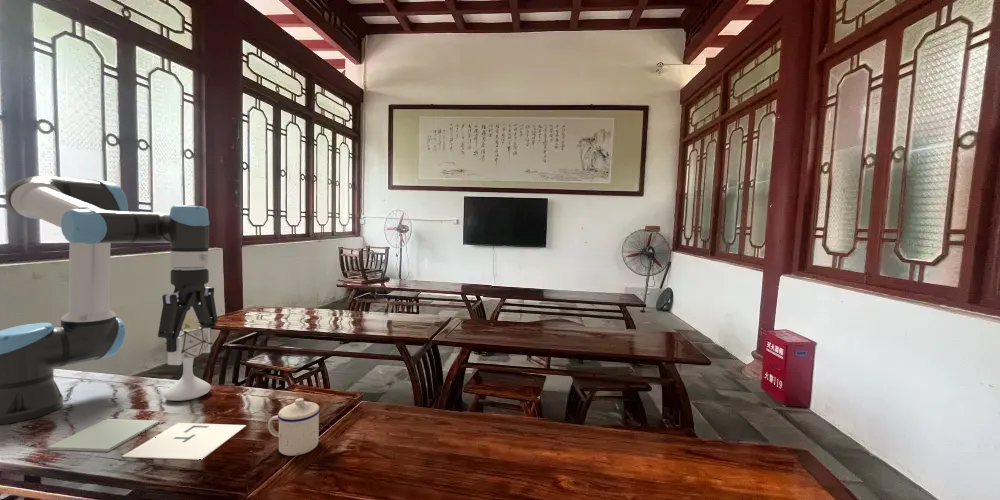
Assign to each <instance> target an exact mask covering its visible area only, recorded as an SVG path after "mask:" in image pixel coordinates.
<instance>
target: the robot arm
mask: <svg viewBox="0 0 1000 500" xmlns="http://www.w3.org/2000/svg"><path fill="white" fill-rule="evenodd" d="M4 196H5V201H6V204H7V206H8V207H9V208H10V209H11V210H12V211H14V212H15V213H17V214H19V215H20V216H23V217H26V218H28V219H32V220H43V221H45V222H47V223H49V224H52V225H54V226H56V227H59V228H60V229H61V233H62V235H63V237H64V238H65V240H66V241H68V242H69V247H68V248H69V252H68V253H69V255H68V257H69V258H68V262H69V263H68V265H69V266H68V312H67V313H66V314H64V315H63V316H62V317H61V318H60V325H57V326H54V325H53V324H52V323H51V322H36V323H28V324H21V325H16V326H13V327H9V328H5V329H2V330H0V425H8V424H13V423H18V422H23V421H28V420H32V419H36V418H39V417H42V416H46V415H48V414H51V413H53V412H55V411H57V410H60V408H62V407H63V406H64V395H63V394H62V393H61V391H60V389H59V387H58V384H57V383H56V381H55V379H54V370H55V368H56V369H57V368H62V367H66V366H69V365H70V366H71V365H75V364H80V363H81V364H82V363H85V362H89V361H90V362H91V361H97V360H101V359H104V358H107V357H111V356H114V355H115V354H117V353H119V351H120V350H121V349H122V347H123V345H124V343H125V338H126V328H125V327H124V326H125V324H124V322H123V320H122V319H121V318H119V317H117V313H115V312H114V311H113V310H111V309H110V296H111V295H110V292H111V291H110V289H111V288H110V286H111V284H110V283H111V244H117V243H118V244H133V243H134V244H137V243H139V244H140V243H141V244H142V243H143V244H149V243H150V244H151V243H152V244H153V243H157V244H158V243H161V244H163V243H166V244H170V253H169V254H170V255H169V256H170V257H169V258H170V259H169V261H170V264H169V266H170V268H173V269H171V270H170V284H171V285H172V286H174V290H173V293H169V294H165V293H164V294H163V295H162V296H161V297H162V311H161V313H160V314H161V316H160V319H159V320H160V321H159V327H158V334H157V337H158V338H162V339H165V340H166V341H165V343H166V344H165V345H166V353H167V365H168V366H180V365H183V362H182V353H181V352H182V337H178V336H179V333H180V330H181V328H182V325H183V322H184V319H185V316H186V317H187V313H188V311H190V310H191V308H192V309H193V311H194V313H195V317H196V319H197V321H198V324H200V328H198V329H201V327H202V326H204V329H202V330H203V332H204V334H205V336H206V338H207V340H208V342H209V343H211V338H212V328H215V327H216V324H217V323H218V315H217V308H216V302H215V288H214V287H213V286H212V287H211V286H205V285H206V284H208V283H209V281H210V280H209V279H210V276H209V275H210V271H209V269H208V268H207V267H209V262H210V261H209V249H210V248H209V247H210V224H211V223H210V219H209V210H208V208H206V207H205V206H202V205H201V206H199V205H186V204H185V205H184V204H183V205H181V204H180V205H179V204H176V205H172V206H171V207H170V212H169V213H168V212H151V211H147V212H145V211H129V204H128V198H127V196H126V193H125V191H123V189H122V188H121V187H120V186H119V185H118V184H116V183H115V182H111V181H105V180H98V179H88V178H77V177H75V178H74V177H65V176H56V175H32V176H28V177H25V178H24V177H23V178H21V179H19V180H16V181H15V182H13V183H12V184H11V185H10V186H8V188H7V189H6V191H5V195H4ZM209 353H211V344H208V346H207V347H206V348H205V349H204V351H203V352H202V353H201V354H209Z"/></svg>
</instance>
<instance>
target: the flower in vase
mask: <svg viewBox="0 0 1000 500" xmlns="http://www.w3.org/2000/svg"><path fill="white" fill-rule="evenodd" d="M200 327H201V325H200V323H199V321H198V319H197V320H196V319H195V318H194V317H191V316H190V315H187V314H186V316H185V319H184V322H183V325H182V329H198V328H200ZM194 359H195V358H182V367H183V368H182V369H183V370H182V376H181V378H180V379H179V380H176V382H175V383H173V384H172V385H171V386H170V387H168V389H166V391H165V392H164V394H163V397H164V398H165V400H168V401H173V402H178V401H179V402H180V401H181V402H182V401H189V400H194V399H197V398H200V397H202V396H204V395H206V394H208V393H209V392H210V390H211V389H212V386H211V385H210V383H209V382H207V381H205V380H203V379H201V378H199V377H197V376H195V375H194V373H193V372H194V371H193V370H194V369H193V366H194V365H193V364H194Z"/></svg>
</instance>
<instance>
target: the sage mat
mask: <svg viewBox="0 0 1000 500" xmlns="http://www.w3.org/2000/svg"><path fill="white" fill-rule="evenodd" d="M160 422H161V421H160V420H152V419H150V420H149V419H124V418H123V419H122V418H121V419H119V418H106V419H103V420H101V421H100V422H97V423H95V424H92V425H91V426H89V427H87V428H85V429H82V430H79V432H76V433H74V434H72V435H69V436H68V437H66V438H63V439H61V440H59V441H57V442H54V443H53V444H51V445H49V446H47V450H49V451H51V450H53V451H55V450H57V451H58V450H59V451H82V452H83V451H84V452H106V453H108V452H110V451H113V450H114V449H115V448H117V447H119V446H121V445H123V444H124V443H126V442H128V441H129V440H131V439H134V438H136V437H137V436H139V435H141V434H142V433H144V432H146V431H148V430H149V428H150V429H151V428H153V427H155V426H157V425H159V424H160ZM158 423H159V424H158ZM156 424H157V425H156ZM154 425H155V426H154ZM147 429H148V430H147ZM145 430H146V431H145ZM141 432H142V433H141ZM140 433H141V434H140ZM138 434H139V435H138Z"/></svg>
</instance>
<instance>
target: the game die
mask: <svg viewBox="0 0 1000 500" xmlns="http://www.w3.org/2000/svg"><path fill="white" fill-rule="evenodd" d="M200 327H201V326H200ZM202 329H204V326H202V327H201V329H182V328H181V330H180V333H179V336H178V337H182V352H181V353H182V358H194V359H196V358H197V360H199V361H201V357H200V356H201V354H203V353H202V352H203V351H204V349H205V348H206V347H207V346H208V344H210V345H213V342H211V341H210V343H209V342H208V340H207V338H206V336H205V334H204V332H203V330H202ZM164 344H165V345H166V342H165V343H164Z"/></svg>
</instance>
